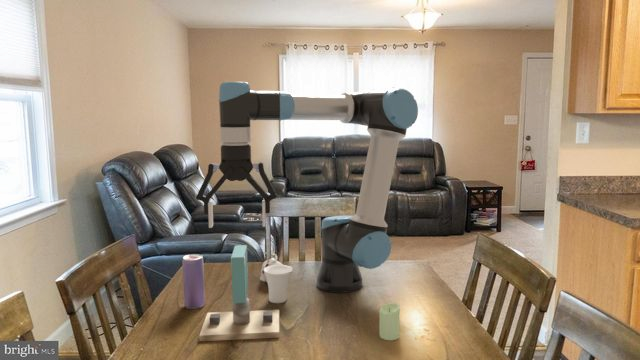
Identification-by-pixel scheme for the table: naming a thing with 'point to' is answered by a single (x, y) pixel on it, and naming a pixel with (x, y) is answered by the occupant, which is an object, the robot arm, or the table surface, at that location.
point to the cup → (278, 282)
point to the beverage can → (193, 281)
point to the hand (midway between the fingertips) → (237, 226)
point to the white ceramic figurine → (268, 263)
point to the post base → (240, 330)
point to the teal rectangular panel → (239, 274)
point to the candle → (389, 321)
